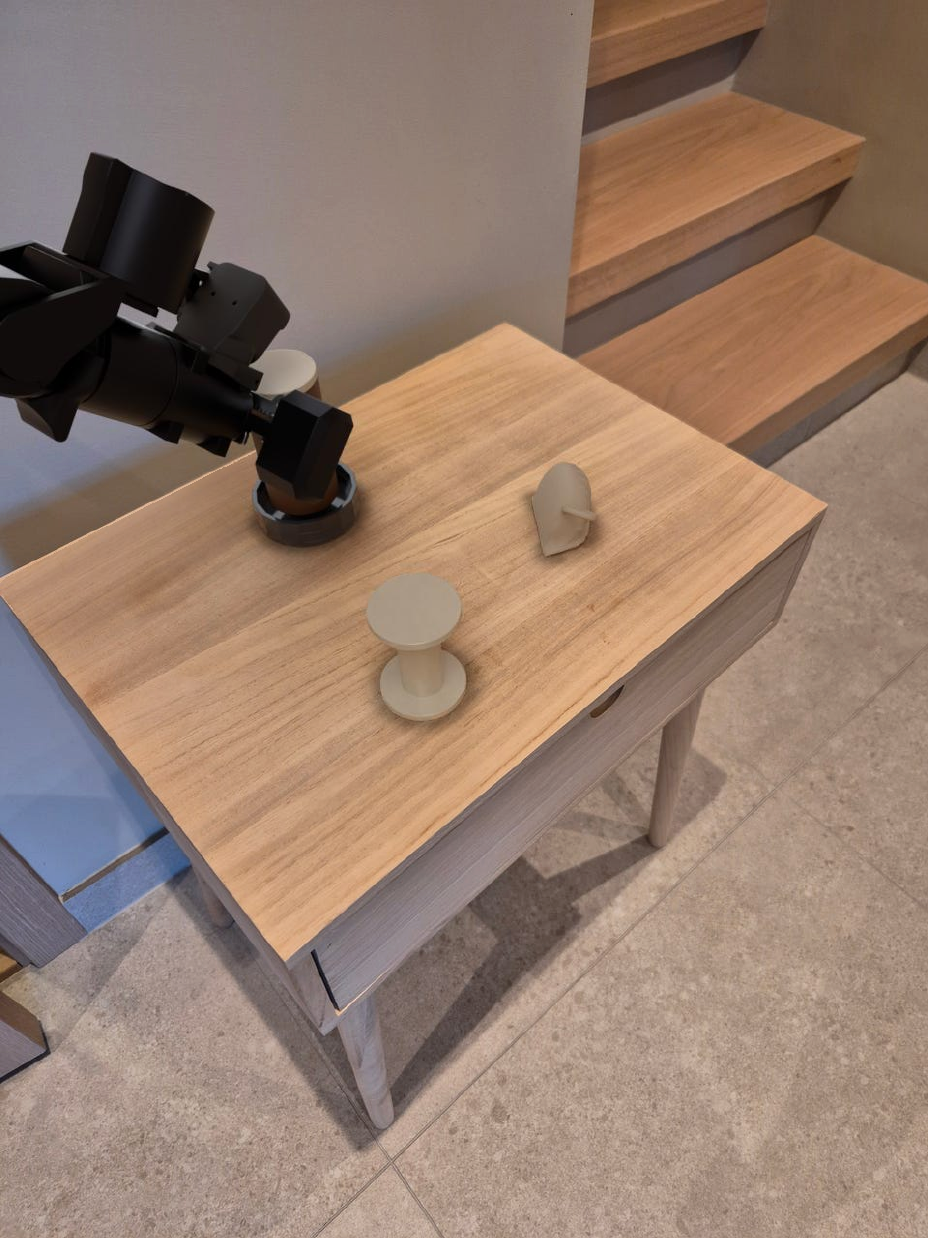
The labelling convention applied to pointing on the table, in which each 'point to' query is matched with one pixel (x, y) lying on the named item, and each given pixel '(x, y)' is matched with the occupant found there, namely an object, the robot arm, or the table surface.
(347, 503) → the bowl
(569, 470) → the beige curved piece
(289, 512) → the brown lidded canister
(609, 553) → the table surface
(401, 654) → the stand
